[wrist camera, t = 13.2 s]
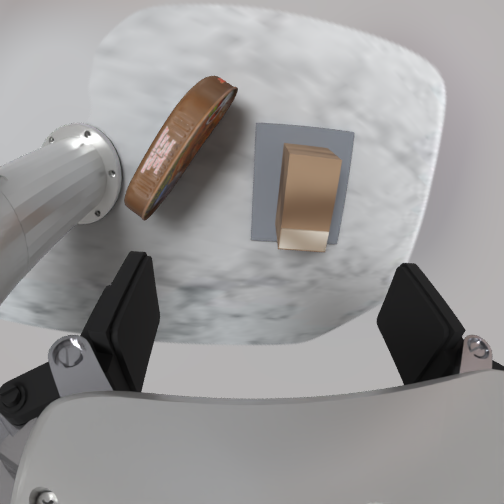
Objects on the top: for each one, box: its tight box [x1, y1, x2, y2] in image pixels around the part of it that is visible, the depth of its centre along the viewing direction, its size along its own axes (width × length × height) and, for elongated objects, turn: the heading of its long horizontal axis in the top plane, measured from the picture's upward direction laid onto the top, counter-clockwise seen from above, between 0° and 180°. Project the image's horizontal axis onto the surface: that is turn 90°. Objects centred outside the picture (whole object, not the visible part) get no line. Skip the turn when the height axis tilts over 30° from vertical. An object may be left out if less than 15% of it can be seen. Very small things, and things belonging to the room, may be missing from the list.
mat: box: [251, 123, 354, 244], centre depth 30 cm, size 10×13×1 cm
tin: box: [124, 76, 238, 220], centre depth 25 cm, size 15×3×8 cm, turn 143°
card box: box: [275, 143, 342, 252], centre depth 27 cm, size 9×4×6 cm, turn 176°
